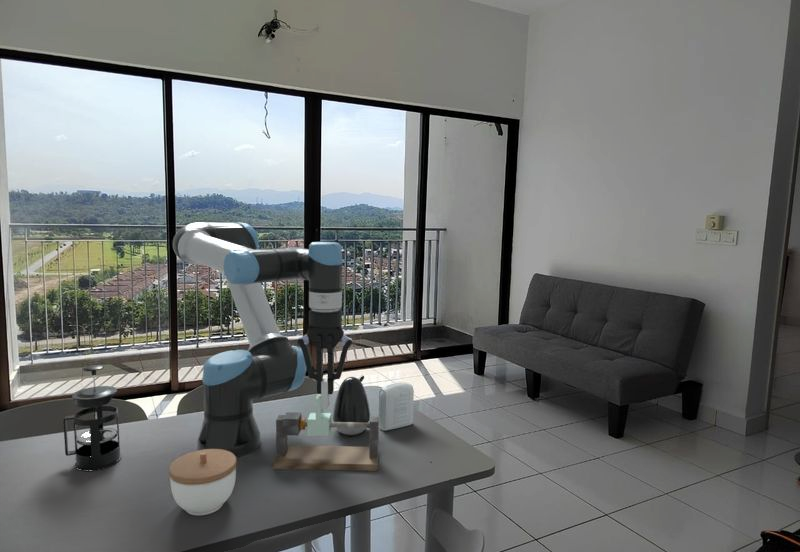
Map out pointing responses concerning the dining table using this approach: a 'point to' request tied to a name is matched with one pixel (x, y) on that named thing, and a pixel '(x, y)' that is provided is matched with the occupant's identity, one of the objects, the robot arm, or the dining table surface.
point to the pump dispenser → (351, 405)
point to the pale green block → (318, 421)
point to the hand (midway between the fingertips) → (325, 406)
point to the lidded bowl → (203, 480)
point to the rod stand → (324, 447)
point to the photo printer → (396, 406)
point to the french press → (94, 427)
